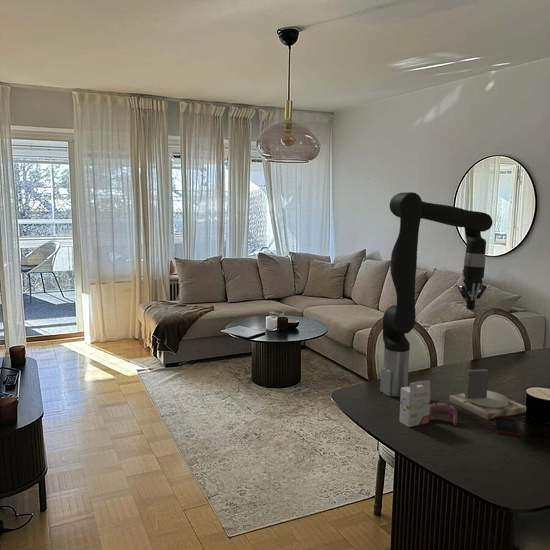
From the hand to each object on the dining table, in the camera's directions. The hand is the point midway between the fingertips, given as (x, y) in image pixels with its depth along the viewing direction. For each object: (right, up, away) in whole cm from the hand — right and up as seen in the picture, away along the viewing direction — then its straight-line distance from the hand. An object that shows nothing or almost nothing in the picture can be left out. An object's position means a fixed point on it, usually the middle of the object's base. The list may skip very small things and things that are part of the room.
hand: (470, 309), depth 200 cm
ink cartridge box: (-30, -35, -30) cm, 55 cm away
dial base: (0, -34, -15) cm, 37 cm away
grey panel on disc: (0, -31, -15) cm, 35 cm away
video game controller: (-20, -35, -29) cm, 50 cm away
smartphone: (0, -37, -32) cm, 48 cm away
